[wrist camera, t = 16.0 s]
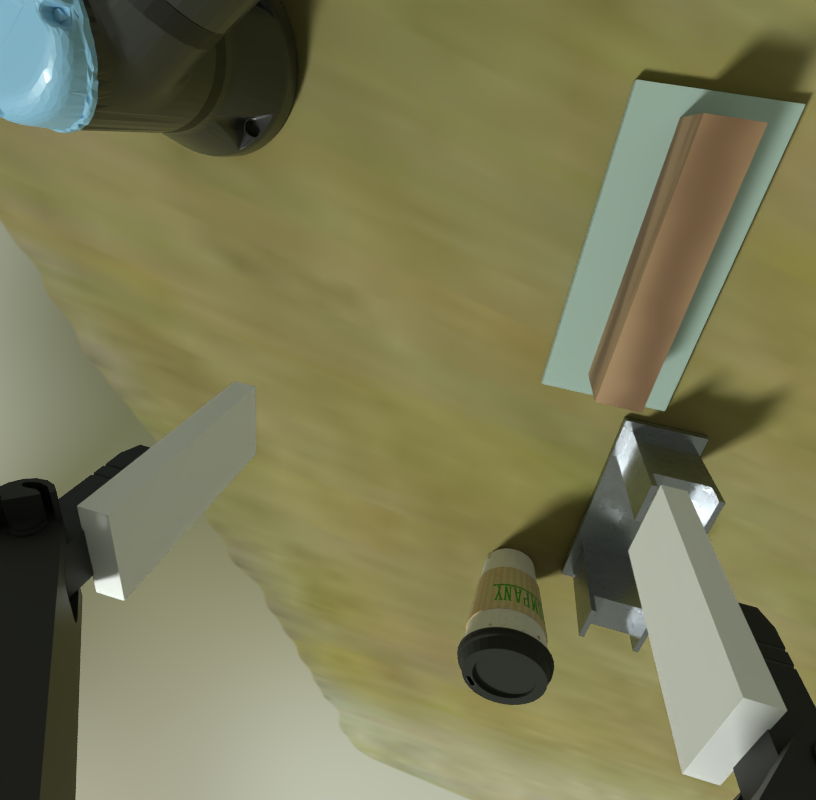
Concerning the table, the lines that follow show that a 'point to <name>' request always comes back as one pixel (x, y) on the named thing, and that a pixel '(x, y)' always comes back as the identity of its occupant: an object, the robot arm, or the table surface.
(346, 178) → the table surface
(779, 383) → the table surface
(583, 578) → the standards
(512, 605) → the coffee cup
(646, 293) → the rail
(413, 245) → the table surface
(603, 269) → the mat
